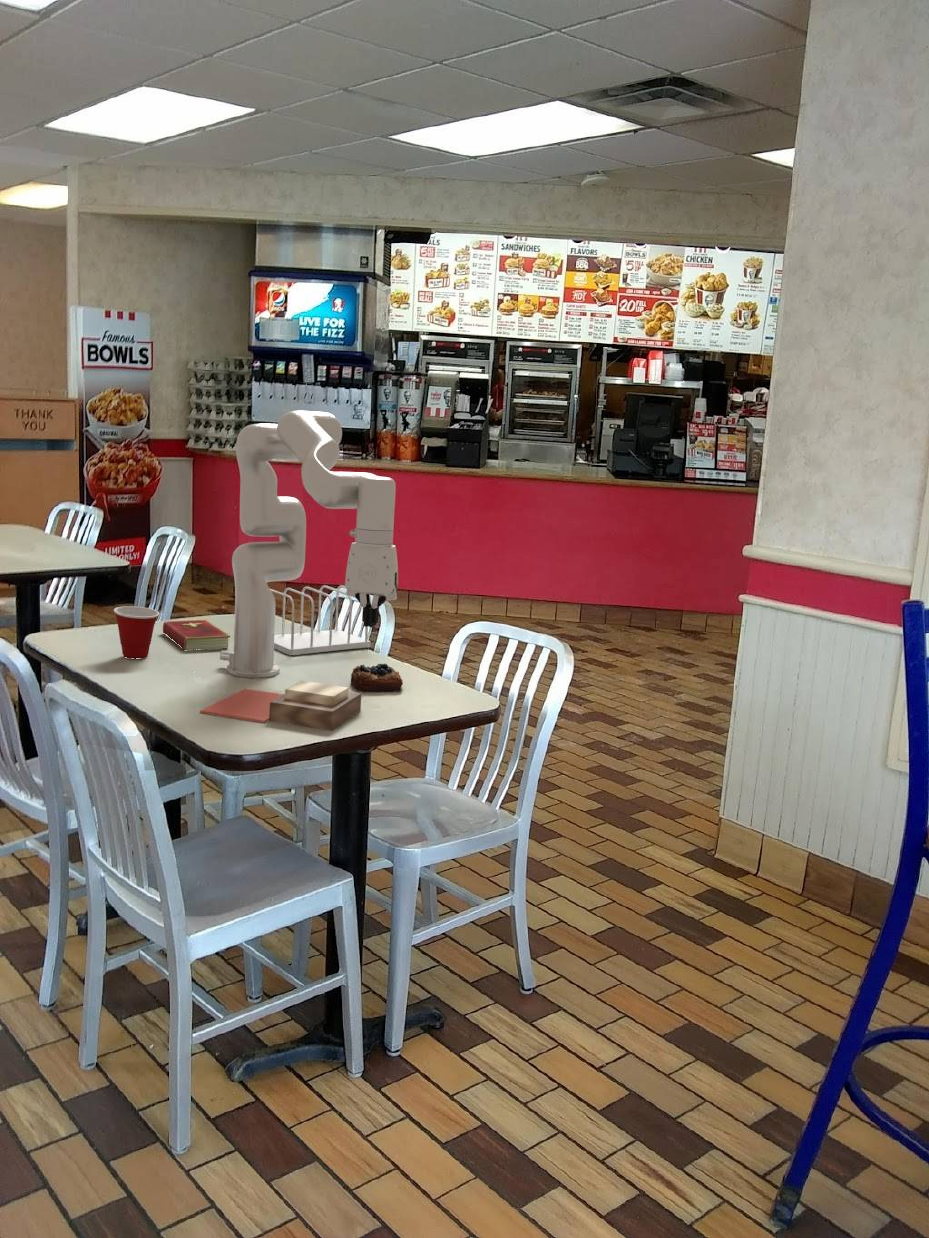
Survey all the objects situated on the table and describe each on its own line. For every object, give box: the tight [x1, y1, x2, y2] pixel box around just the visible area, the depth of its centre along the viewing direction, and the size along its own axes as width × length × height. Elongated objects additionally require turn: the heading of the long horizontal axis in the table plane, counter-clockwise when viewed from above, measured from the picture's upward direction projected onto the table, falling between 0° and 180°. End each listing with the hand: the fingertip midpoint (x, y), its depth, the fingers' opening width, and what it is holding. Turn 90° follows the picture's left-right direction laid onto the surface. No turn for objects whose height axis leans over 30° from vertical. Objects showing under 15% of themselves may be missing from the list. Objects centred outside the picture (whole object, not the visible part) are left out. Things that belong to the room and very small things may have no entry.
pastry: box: [350, 663, 404, 693], centre depth 254 cm, size 11×12×6 cm
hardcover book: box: [162, 619, 231, 651], centre depth 286 cm, size 12×21×4 cm, turn 30°
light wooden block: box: [284, 680, 349, 706], centre depth 227 cm, size 11×8×2 cm
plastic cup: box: [113, 605, 160, 659], centre depth 264 cm, size 11×11×12 cm
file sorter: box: [269, 584, 371, 656], centre depth 291 cm, size 25×17×16 cm
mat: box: [199, 688, 285, 723], centre depth 231 cm, size 15×20×1 cm
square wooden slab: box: [268, 690, 362, 731], centre depth 227 cm, size 14×16×4 cm
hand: (370, 625), depth 221 cm, fingers closed
